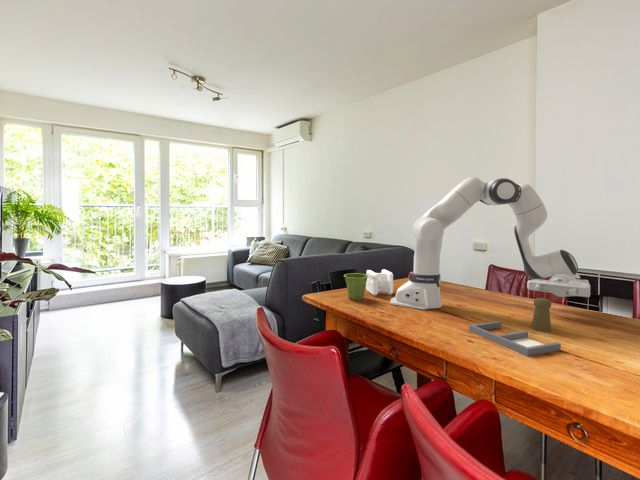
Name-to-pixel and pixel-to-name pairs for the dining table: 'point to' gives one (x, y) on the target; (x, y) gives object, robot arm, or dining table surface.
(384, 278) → the cable organizer
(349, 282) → the plant pot
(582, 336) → the dining table surface
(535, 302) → the cork
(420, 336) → the dining table surface
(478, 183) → the robot arm
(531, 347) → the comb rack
